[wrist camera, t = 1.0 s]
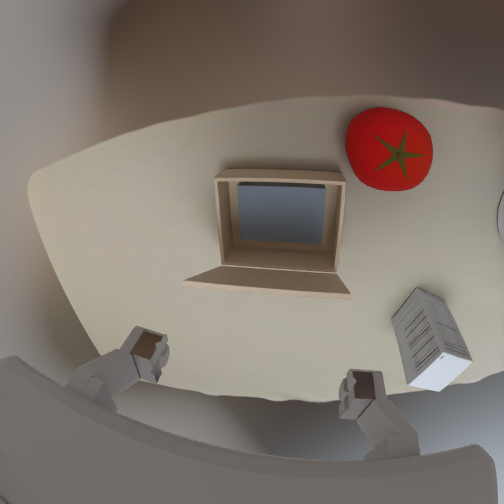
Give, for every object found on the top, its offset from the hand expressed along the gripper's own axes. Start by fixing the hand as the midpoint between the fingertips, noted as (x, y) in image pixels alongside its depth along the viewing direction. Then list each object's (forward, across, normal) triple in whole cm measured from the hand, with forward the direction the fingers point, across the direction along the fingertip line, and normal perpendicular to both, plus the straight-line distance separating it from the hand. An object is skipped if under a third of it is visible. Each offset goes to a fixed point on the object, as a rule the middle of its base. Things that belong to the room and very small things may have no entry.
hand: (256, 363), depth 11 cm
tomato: (+34, -13, -8) cm, 38 cm away
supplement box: (+34, -31, +21) cm, 51 cm away
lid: (+22, 0, +10) cm, 24 cm away
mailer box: (+35, 0, +6) cm, 35 cm away
